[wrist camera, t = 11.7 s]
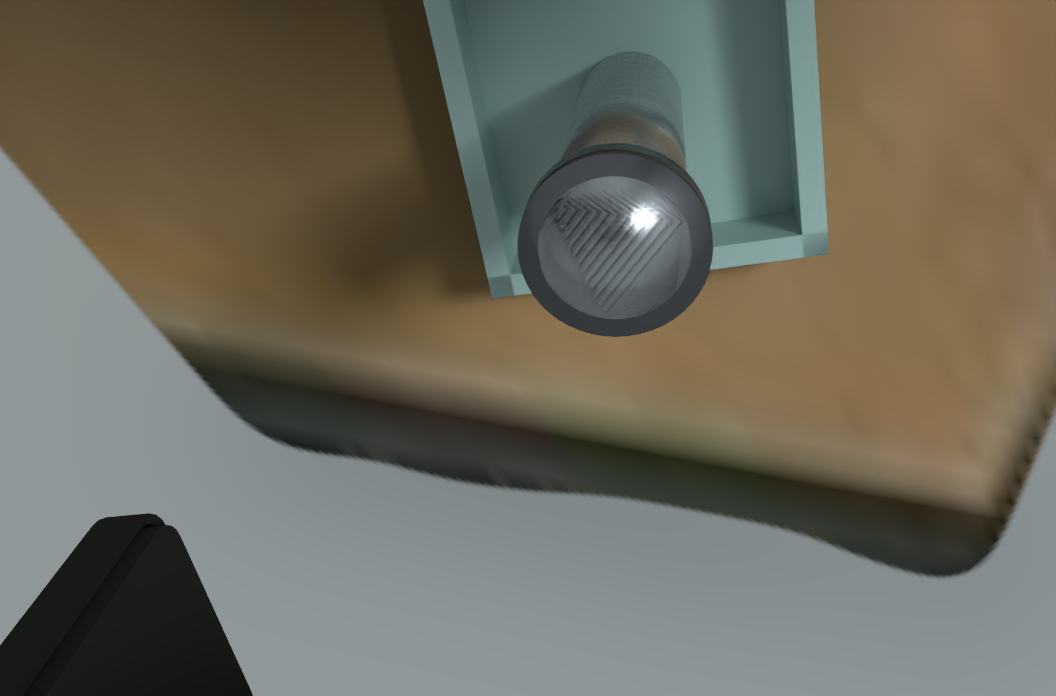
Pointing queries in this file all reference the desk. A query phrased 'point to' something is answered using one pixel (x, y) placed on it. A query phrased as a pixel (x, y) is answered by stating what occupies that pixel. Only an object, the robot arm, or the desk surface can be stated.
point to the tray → (707, 107)
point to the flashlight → (619, 208)
